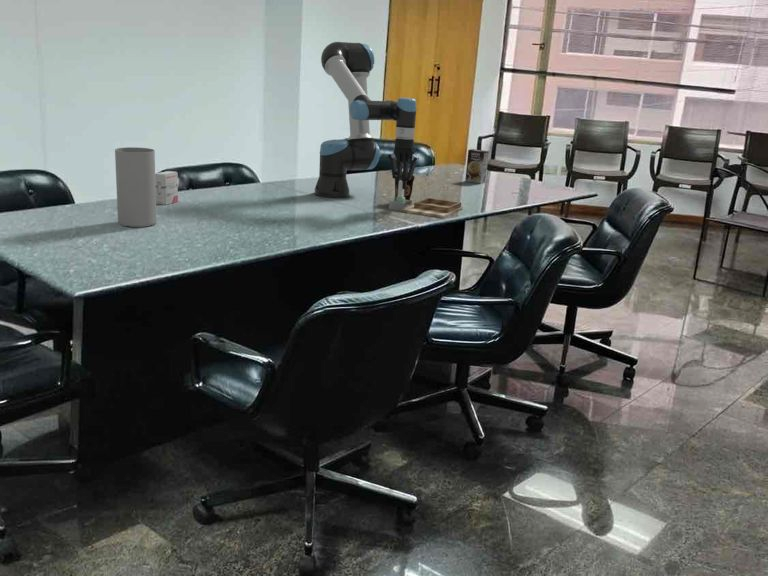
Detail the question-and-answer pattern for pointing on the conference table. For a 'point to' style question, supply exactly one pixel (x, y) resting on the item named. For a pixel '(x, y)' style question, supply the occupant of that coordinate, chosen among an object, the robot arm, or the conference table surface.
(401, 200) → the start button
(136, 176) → the cylinder vase
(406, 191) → the coffee cup
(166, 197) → the ink box
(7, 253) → the conference table surface
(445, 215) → the tray
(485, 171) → the coffee box
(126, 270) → the conference table surface
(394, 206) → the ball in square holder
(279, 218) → the conference table surface
